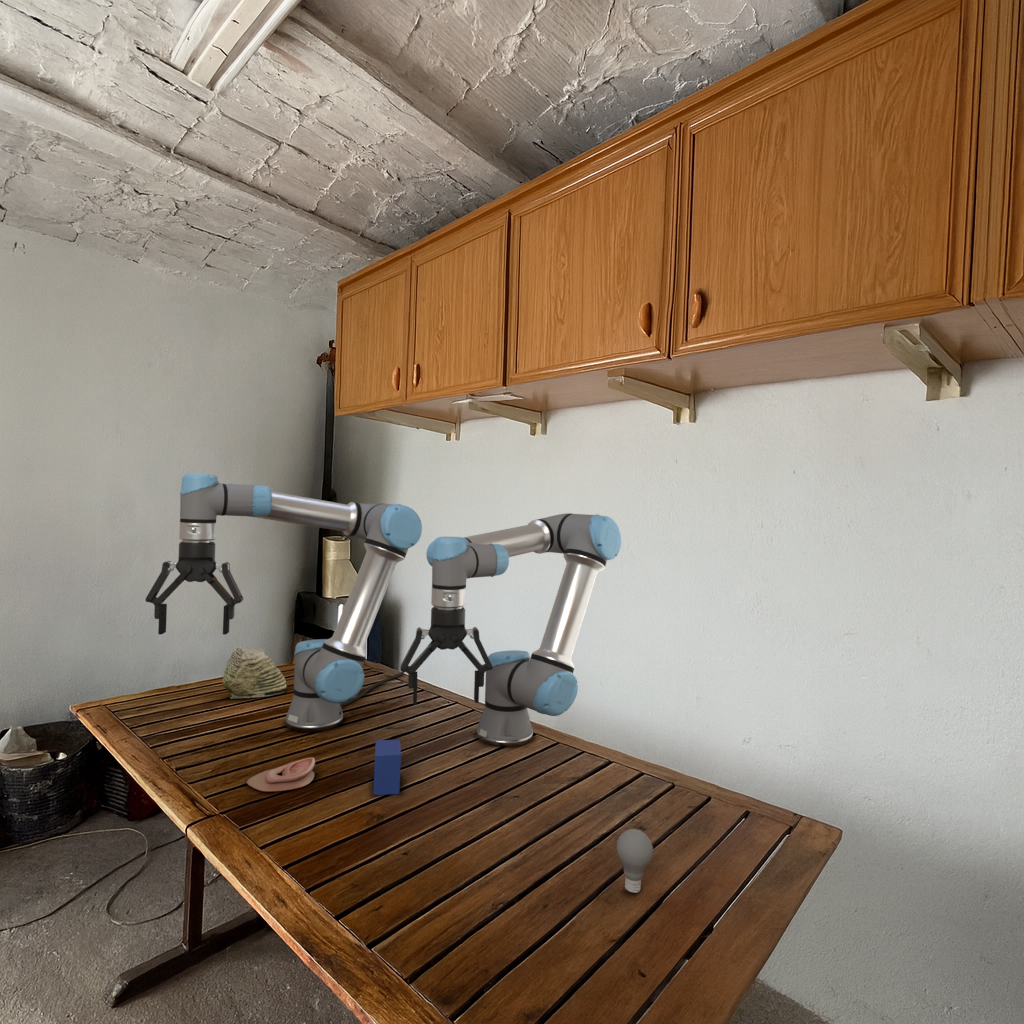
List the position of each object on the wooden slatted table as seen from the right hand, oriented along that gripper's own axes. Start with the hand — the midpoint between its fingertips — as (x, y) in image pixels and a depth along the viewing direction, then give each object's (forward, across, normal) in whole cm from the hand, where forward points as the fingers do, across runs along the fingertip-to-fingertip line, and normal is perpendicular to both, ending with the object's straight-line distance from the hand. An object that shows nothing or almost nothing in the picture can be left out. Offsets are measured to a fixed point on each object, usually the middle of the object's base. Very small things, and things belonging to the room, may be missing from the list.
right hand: (445, 701), depth 141 cm
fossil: (+19, -55, +67) cm, 89 cm away
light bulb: (+19, +29, -41) cm, 54 cm away
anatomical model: (+18, -36, +5) cm, 40 cm away
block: (+19, -13, +1) cm, 23 cm away
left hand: (-12, -57, +15) cm, 60 cm away
